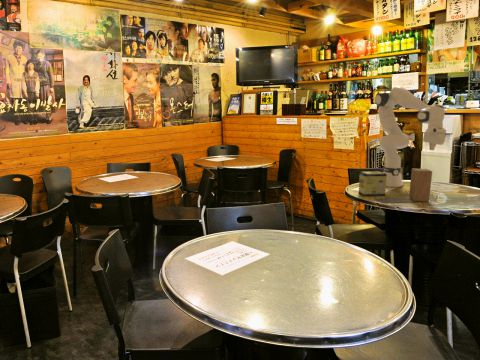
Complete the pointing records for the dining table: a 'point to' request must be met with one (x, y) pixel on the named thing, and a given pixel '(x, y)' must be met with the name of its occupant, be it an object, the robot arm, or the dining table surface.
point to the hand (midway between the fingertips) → (431, 150)
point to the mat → (394, 200)
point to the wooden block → (420, 185)
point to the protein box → (372, 183)
